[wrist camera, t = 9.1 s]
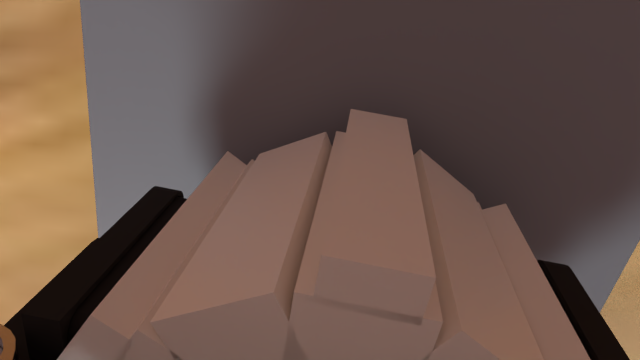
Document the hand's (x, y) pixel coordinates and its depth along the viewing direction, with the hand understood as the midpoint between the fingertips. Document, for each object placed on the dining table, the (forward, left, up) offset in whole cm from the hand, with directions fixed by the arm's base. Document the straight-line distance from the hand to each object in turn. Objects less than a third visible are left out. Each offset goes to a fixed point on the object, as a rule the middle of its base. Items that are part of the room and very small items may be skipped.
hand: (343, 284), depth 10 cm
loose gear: (0, 0, -1) cm, 1 cm away
